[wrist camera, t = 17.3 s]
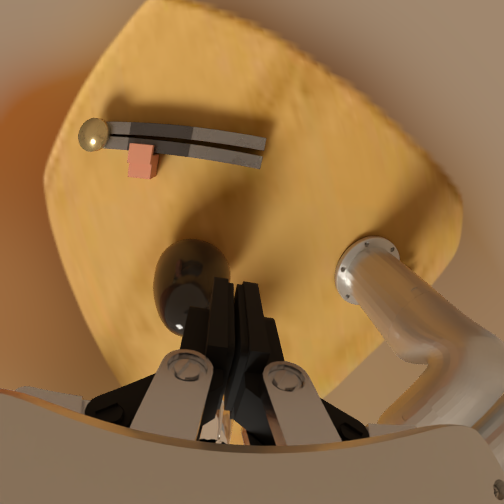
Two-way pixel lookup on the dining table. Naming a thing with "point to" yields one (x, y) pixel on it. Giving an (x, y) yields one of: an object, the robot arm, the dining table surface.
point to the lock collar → (142, 161)
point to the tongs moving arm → (187, 133)
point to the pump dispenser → (186, 280)
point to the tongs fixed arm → (159, 145)
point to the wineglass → (218, 427)
